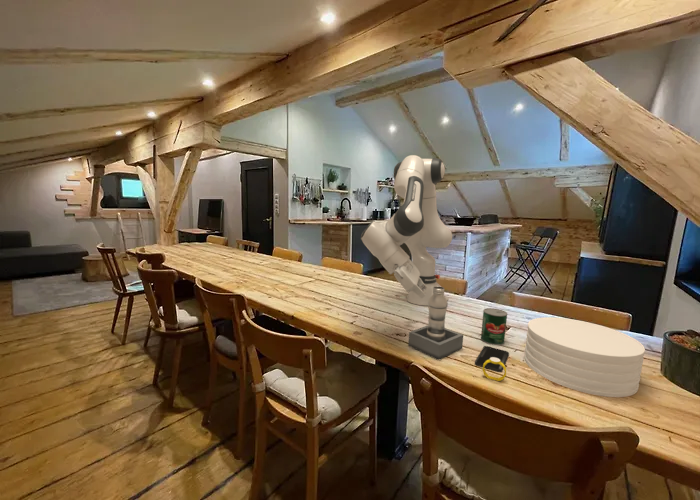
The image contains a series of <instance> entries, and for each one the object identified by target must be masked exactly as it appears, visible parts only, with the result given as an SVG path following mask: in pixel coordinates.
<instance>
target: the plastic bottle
mask: <svg viewBox="0 0 700 500" xmlns="http://www.w3.org/2000/svg"><path fill="white" fill-rule="evenodd" d="M433 293H434V294H433V295H432V296H431V298H430V299H429V301H428V305H427V307H428V324H427V326H428V330H427V333H426V338H429V339H431V340H433V341H436V342H438V343H439V342H442V341H444V340H445V328H446V326H445V324H446V323H445V322H446V315H447V310H448V301H447V300H446V298H445V297H446V296H445V287H443V286H441V287H439V286H435V287H433ZM443 294H444V295H443ZM444 296H445V297H444Z"/></svg>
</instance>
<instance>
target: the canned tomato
mask: <svg viewBox="0 0 700 500" xmlns="http://www.w3.org/2000/svg"><path fill="white" fill-rule="evenodd" d="M482 311H483V313H482V324H481V332H480V333H481V334H480V340H481V341H482V342H483V343H485V344H488V345H492V346H502V345H504V344H505V337H506V328H507V319H508V312H506V311H505V310H503V309H500V308H491V307H489V308H484V309H483V310H482Z"/></svg>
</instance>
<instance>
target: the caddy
mask: <svg viewBox="0 0 700 500" xmlns="http://www.w3.org/2000/svg"><path fill="white" fill-rule="evenodd" d="M427 330H428V325H426V326H422V327H420V328H419V327H418V328H417V329H413V330H412V331H409V332H408V342H407V343H408V347H410V348H412V349H415V350H417V351H419V352H421V353H422V354H425V355H427V356H429V357H432V358H433V359H435V360H438V361H440V360H442V359H444V358H446V357H448V356H450V355H453V354H455V353H456V352H458V351H461V350H462V349H463V344H464V343H463V342H464V334H462V333H460V332H456V331H454V330H451V329H448V328H446V327H445V340H444V341H442V342H439V343H438V342H436V341H433V340H431V339H429V338H426V333H427Z"/></svg>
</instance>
